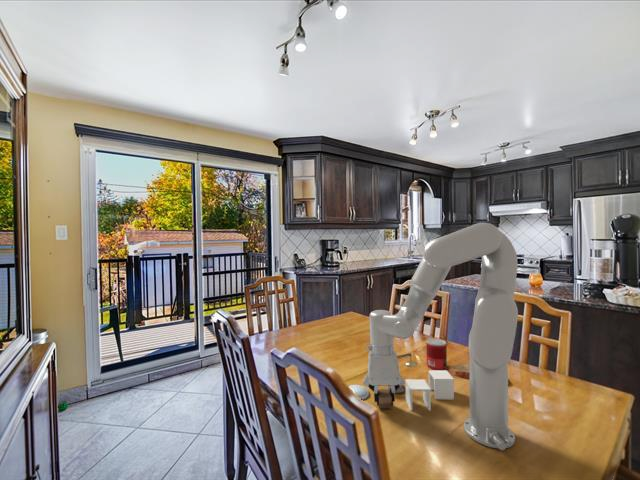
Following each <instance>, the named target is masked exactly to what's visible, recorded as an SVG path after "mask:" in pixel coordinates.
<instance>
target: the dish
mask: <svg viewBox="0 0 640 480" xmlns="http://www.w3.org/2000/svg"><path fill="white" fill-rule="evenodd" d="M348 386H349V388H350V389H351V390H352V391H353V393H354V394H355V395H357V396H358V397H359V398H360V399H362V400H361V401H363V400H366V399H367V398H369V396H370V391H369V389H368V388H367V386H366V387H365V385H364V386H363V385H359V384H351V385H348Z"/></svg>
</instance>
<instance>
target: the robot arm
mask: <svg viewBox="0 0 640 480" xmlns="http://www.w3.org/2000/svg"><path fill="white" fill-rule="evenodd" d="M479 258H481V262H482V264H481V270H480V278H479V284H478V290H477V295H476V296H475V299H474V311H473V317H472V325H471V329H470V331H469V335H468V352H469V364H468V365H469V370H470V376H469V379H468V380H469V383H468V384H469V417H468V418H466V419H465V420H464V421H463V429H464V432H465V433H466V434H467V435H468V437H470V438H471V439H472V440H473V441H475V442H476V443H478V444H480V445H483V446H486V447H488V448H492V449H493V448H494V449H499V450H500V451H505V450H506V449H509V448H511V447H512V446H514V444H515V442H516V437H515V433H514V432H513V430H511V428H509V398H508V397H509V387H508V386H509V384H508V380H509V371H508V370H509V366H508V364H509V362H510V361H511V357H512V354H513V349H514V343H515V338H516V333H517V332H516V331H517V327H518V325H517V324H518V318H519V310H518V306H517V303H516V301H515V289H516V284H517V282H516V281H517V274H518V255H517V251H516V249H515V247H514V245H513V243H512V242H511V240H510V238H508V236H507V235H506V234H504V233H503V232H502V231H501V230H499V228H498V227H497V226H496V225H493V224H492V223H489V222H478V223H475V224H472V225H469V226H466V227H464V228H462V229H459V230H457V231H454V232H451V233H448V234H445V235H443V236H440V237H437V238H433V239H431V240H430V241H428V242H427V244H425V246H424V248H423V256H422V258H421V260H420V262H419V264H418V266H417V267H416V270H415V272H414V274H413V275H412V277H411V280H410V283H409V284H410V287H409V291H408V293H407V296H406V298H405V300H404V302H403V303H402V306H401V308H400V309H399V311H398V312H397V313H395V314H392V312H391V311H390V310H385V309H375V310H373V311H371V312H370V313H369V319H368V320H369V335H370V336H369V338H370V342H369V344H367V345H366V346H365V347H366V350H369V352H368V357H367V373H366V375H365V377H364V378H363V380H362V384H363V385H364V386H366V388H367V387H368V388H369V389H370V390H371V391H372V392H373V395H374V397H373V399H374V402H375V403H376V406H377V407H379V392H378V389H379V387H385V386H386V387H388V386H390V391H389V392H390V395H391V397H392V407H393V406H394V402H395V394H396V393H395V392H396V390H397V389H398V388H399V387H400V386H402V385H405V379H404V378H403V377H402V375H401V374H400V373H401V372H400V364H399V358H398V357H397V356H398V354H397V352H396V351H395V345H394V344H395V343H394V338H397V339H400V340H406V339H409V338H411V337H412V336H413V335H414V334H415V332H416V330H417V329H418V327H419V325H420V323H421V322H422V320H423V317H424V316H425V314H426V313H427V310H428V308H429V307H430V304H431V303H432V301H433V300H434V299H435V297H436V296H437V294H438V293H439V291H440V290H441V287H442V285H443V283H444V281H445V279H446V278H447V276H448V274H449V272H450V270H451V269H452V267H454V266H457V265H460V264H463V263H466V262H470V261H472V260H476V259H479Z"/></svg>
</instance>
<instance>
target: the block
mask: <svg viewBox="0 0 640 480" xmlns="http://www.w3.org/2000/svg"><path fill="white" fill-rule="evenodd" d="M389 391H390V389H388V388H378V392H379V406H378V408H379V409H392V407H393V406H392V397H391V395H390V392H389Z"/></svg>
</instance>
